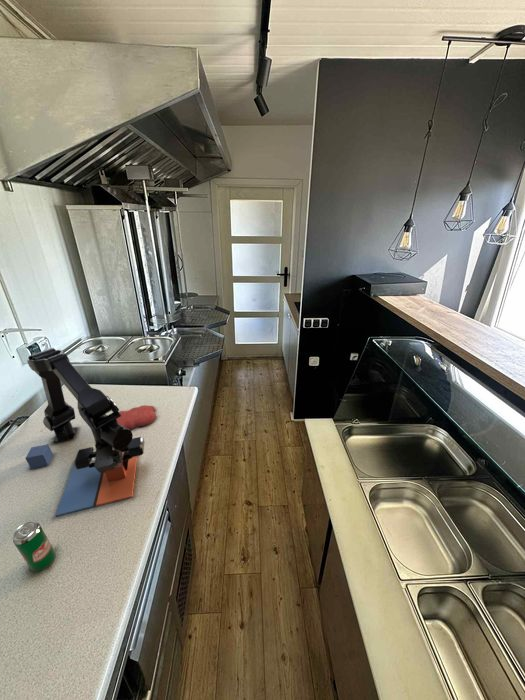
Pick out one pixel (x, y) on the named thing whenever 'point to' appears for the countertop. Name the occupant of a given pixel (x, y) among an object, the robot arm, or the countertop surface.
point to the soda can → (34, 545)
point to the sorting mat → (95, 489)
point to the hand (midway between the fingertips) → (117, 471)
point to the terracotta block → (117, 472)
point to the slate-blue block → (39, 456)
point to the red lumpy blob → (137, 417)
